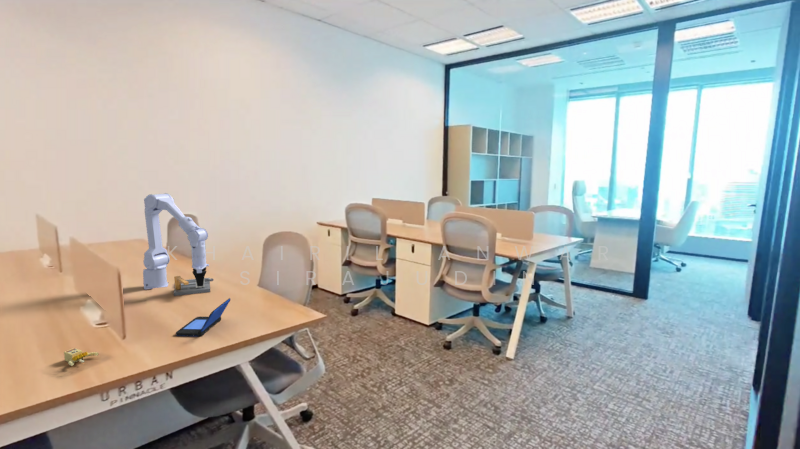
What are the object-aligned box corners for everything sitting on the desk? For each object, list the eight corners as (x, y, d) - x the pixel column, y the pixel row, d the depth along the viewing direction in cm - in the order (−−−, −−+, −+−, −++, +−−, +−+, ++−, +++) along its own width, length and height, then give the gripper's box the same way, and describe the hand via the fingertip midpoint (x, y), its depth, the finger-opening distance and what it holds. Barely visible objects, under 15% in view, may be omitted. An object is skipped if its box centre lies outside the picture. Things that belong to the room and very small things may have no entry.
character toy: (71, 359, 115) (54, 354, 117) (72, 370, 115) (55, 364, 118) (101, 347, 122) (84, 343, 125) (102, 358, 122) (85, 353, 125)
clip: (174, 288, 183) (173, 276, 182) (180, 287, 185) (179, 275, 184) (184, 295, 174) (183, 282, 173) (190, 294, 176) (189, 281, 175)
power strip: (173, 296, 179) (173, 292, 179) (175, 291, 187) (174, 286, 187) (210, 293, 185) (210, 288, 185) (210, 287, 193) (209, 283, 193)
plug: (196, 290, 185) (195, 278, 184) (196, 288, 188) (195, 276, 187) (214, 289, 188) (213, 276, 187) (213, 286, 191) (213, 274, 191)
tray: (176, 289, 190) (176, 285, 190) (177, 284, 197) (177, 280, 197) (209, 285, 196) (209, 281, 196) (209, 281, 203) (209, 277, 203)
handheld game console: (197, 319, 154) (196, 296, 153) (232, 320, 154) (231, 297, 153) (174, 337, 139) (172, 310, 137) (213, 338, 139) (211, 311, 137)
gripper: (208, 258, 180) (210, 288, 182) (208, 251, 193) (209, 279, 195) (190, 259, 177) (192, 289, 179) (191, 252, 190) (193, 281, 192)
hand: (200, 284), depth 187 cm, fingers closed on plug, 4 cm apart
